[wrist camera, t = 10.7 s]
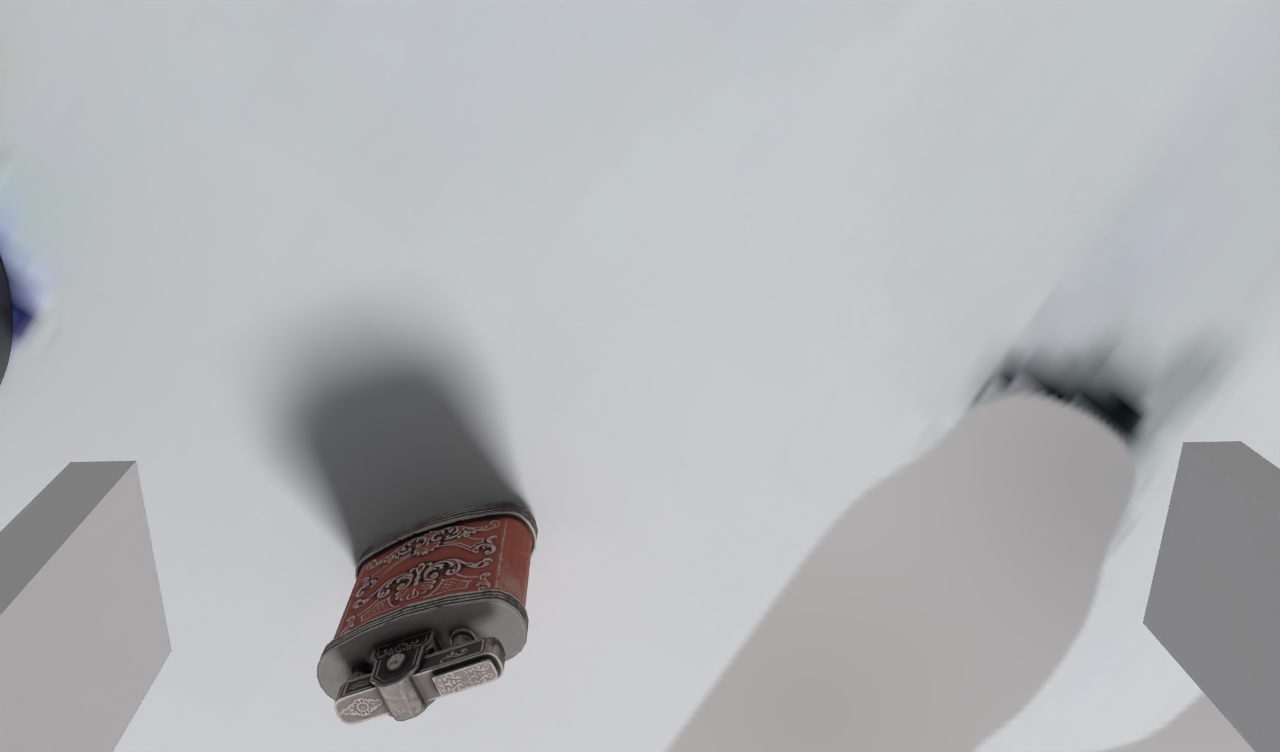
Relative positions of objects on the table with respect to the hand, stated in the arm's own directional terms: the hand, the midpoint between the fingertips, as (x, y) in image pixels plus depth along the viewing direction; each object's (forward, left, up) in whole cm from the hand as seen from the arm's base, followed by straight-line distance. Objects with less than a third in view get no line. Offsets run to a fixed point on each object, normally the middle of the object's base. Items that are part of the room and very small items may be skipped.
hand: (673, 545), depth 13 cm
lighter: (-7, -17, -28) cm, 33 cm away
